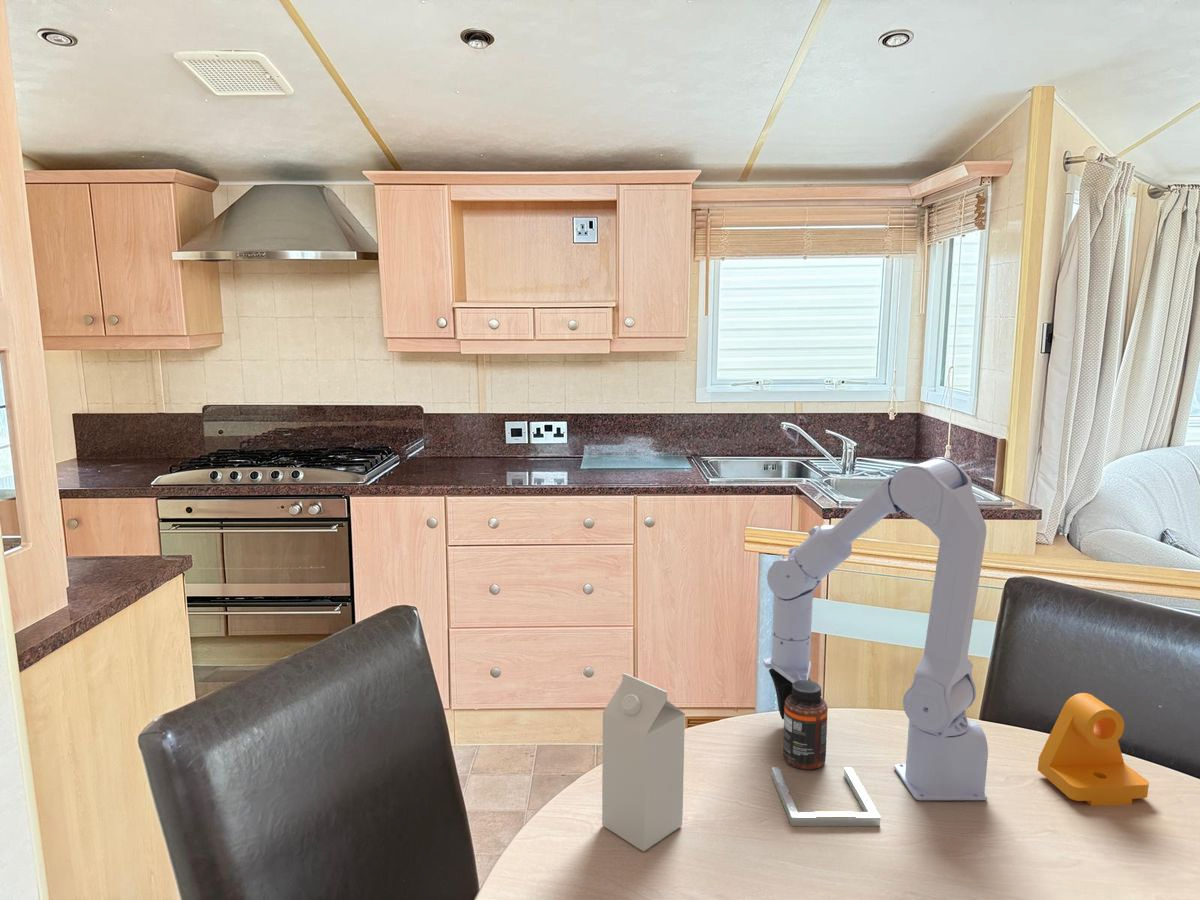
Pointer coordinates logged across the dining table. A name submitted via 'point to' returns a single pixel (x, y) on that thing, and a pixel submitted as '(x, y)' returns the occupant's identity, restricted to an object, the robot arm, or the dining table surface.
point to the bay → (829, 818)
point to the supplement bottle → (805, 726)
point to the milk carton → (642, 764)
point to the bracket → (1090, 755)
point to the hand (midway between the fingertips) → (787, 717)
